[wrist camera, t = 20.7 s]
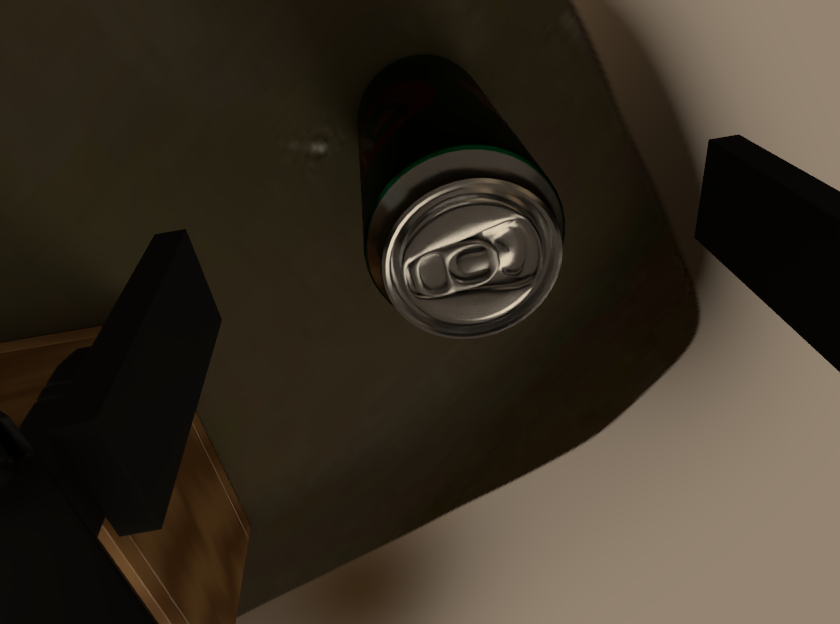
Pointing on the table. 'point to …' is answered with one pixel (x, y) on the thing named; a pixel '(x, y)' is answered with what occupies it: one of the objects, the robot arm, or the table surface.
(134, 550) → the chest lid
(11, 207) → the table surface
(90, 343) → the chest
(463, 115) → the soda can
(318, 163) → the table surface
